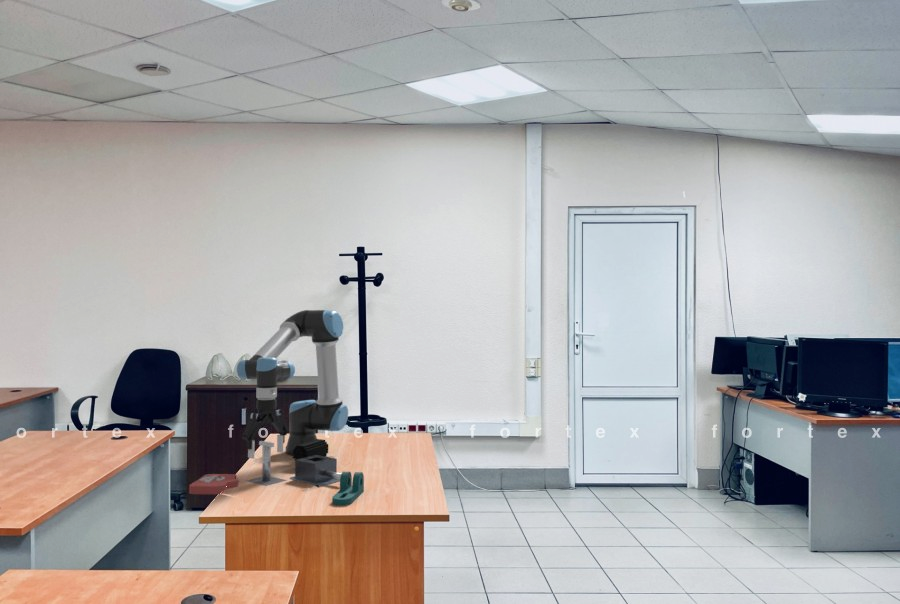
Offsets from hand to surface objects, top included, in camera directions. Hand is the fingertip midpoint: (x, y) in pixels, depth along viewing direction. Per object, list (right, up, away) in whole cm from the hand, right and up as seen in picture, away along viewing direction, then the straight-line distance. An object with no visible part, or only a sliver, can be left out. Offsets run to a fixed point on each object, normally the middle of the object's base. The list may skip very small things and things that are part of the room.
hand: (266, 455), depth 264 cm
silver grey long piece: (0, -10, 0) cm, 10 cm away
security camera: (+12, -11, +26) cm, 31 cm away
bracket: (+34, -11, -21) cm, 41 cm away
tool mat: (0, -10, 0) cm, 10 cm away
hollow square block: (+21, -10, +1) cm, 23 cm away
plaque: (-16, -11, -8) cm, 21 cm away
